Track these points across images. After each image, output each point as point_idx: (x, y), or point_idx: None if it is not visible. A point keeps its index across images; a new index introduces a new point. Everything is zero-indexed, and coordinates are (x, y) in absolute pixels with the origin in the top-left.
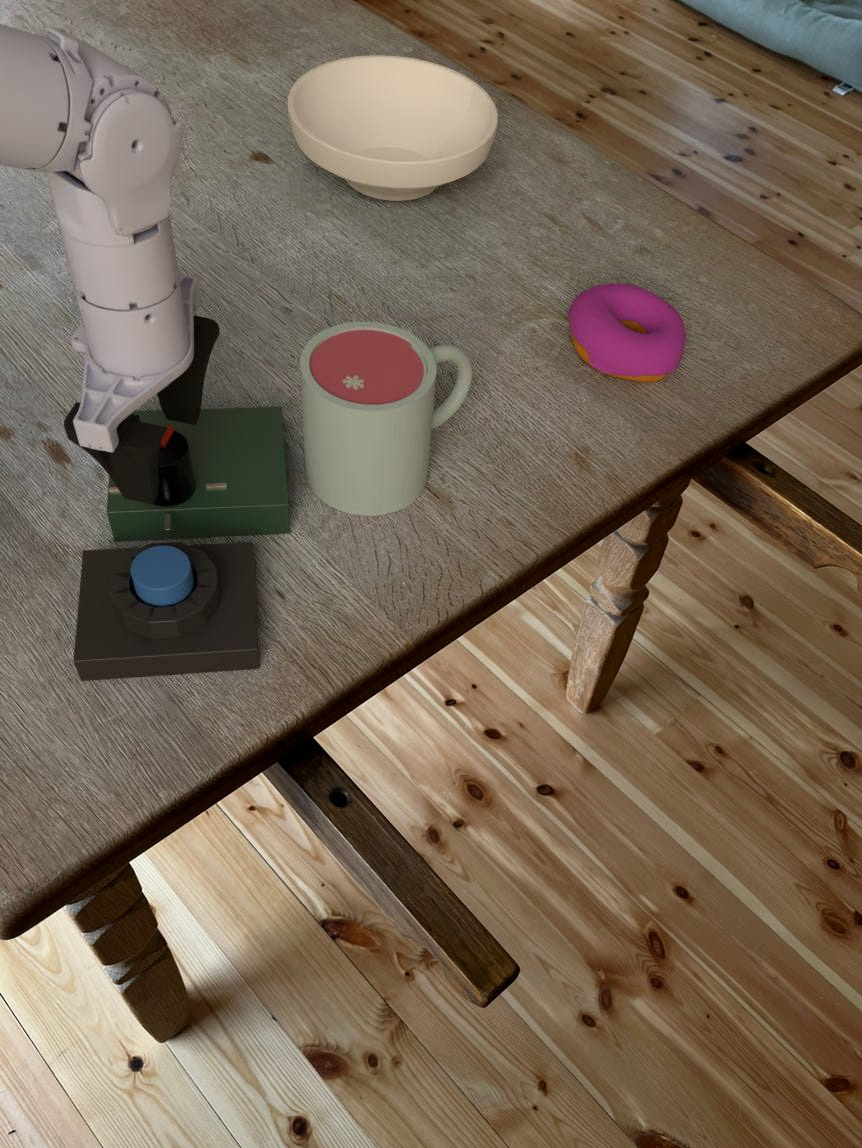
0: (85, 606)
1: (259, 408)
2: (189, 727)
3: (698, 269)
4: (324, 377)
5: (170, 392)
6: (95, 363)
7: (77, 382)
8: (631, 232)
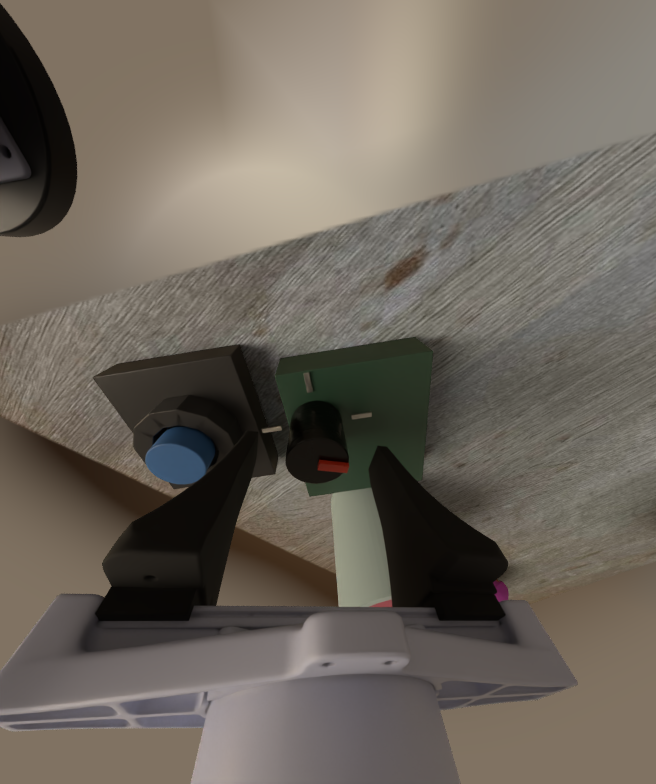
0: (159, 373)
1: (421, 467)
2: (118, 441)
3: (518, 595)
4: (388, 600)
5: (387, 485)
6: (225, 695)
7: (522, 266)
8: (561, 578)
